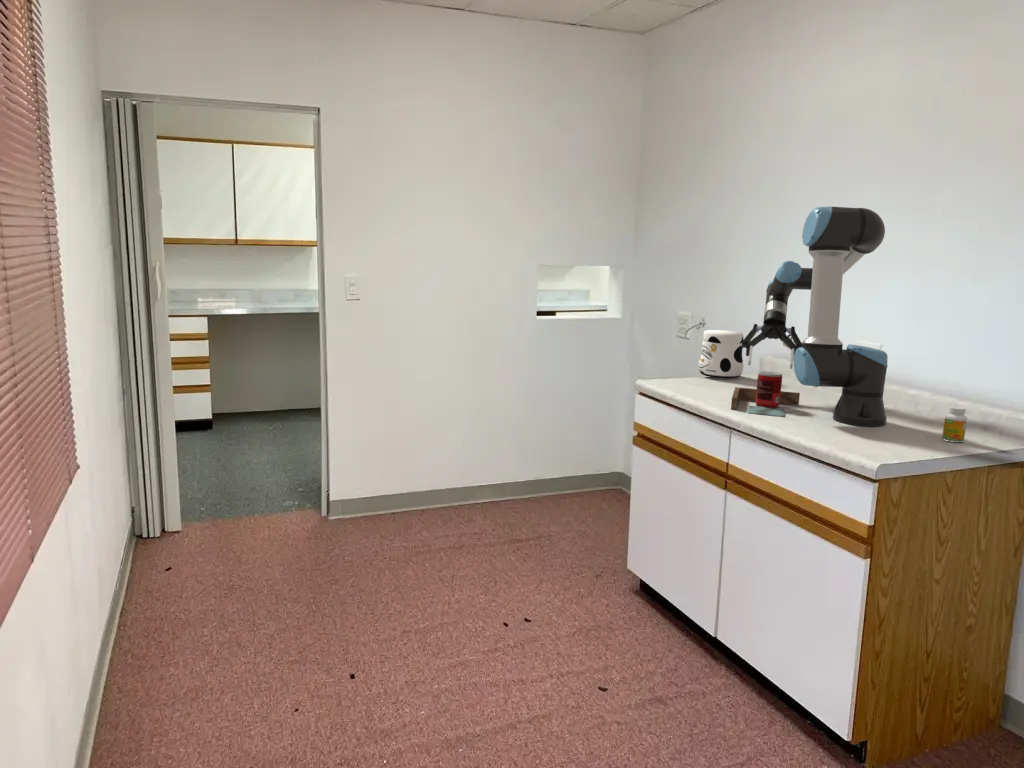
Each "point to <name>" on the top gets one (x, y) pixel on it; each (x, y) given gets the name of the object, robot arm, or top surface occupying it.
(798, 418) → the top surface
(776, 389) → the canned food
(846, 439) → the top surface
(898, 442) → the top surface
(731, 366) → the milk container
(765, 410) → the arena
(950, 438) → the supplement bottle
